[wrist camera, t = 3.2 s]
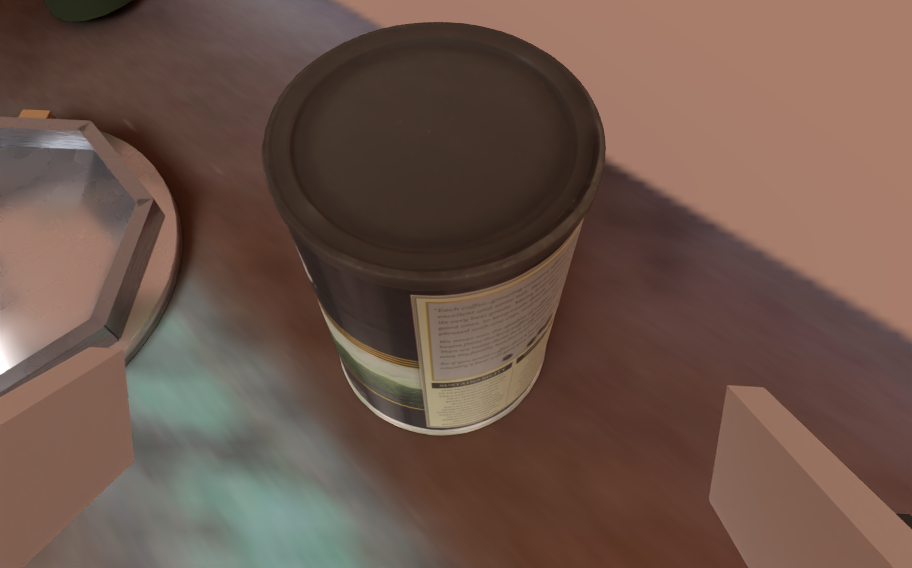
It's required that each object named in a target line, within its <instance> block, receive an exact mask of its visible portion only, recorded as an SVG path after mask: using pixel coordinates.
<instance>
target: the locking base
mask: <svg viewBox="0 0 912 568" xmlns="http://www.w3.org/2000/svg"><path fill="white" fill-rule="evenodd" d="M182 248H183V237H182V224H181V220H180V216H179V211H178V207H177V205H176V203H175V201H174V198H173V196H172V194H171V192H170V190H169V188H168V187H167V185H166V183H165V182H164V180H163V179H162V177H161V176H160V174H159V173H158V171H157V170H156V169H155V167H154V166H153V165H152V164H151V163H150V162H149V161H148V160H147V158H146V157H145V156H144V155H143V154H142V153H140V152H139V151H138V150H136V149H135V148H133V147H132V146H131V145H129V144H128V143H126V142H124V141H122V140H120V139H118V138H116V137H114V136H112V135H110V134H108V133H105V132H102V131H99V130H98V129H97V127H96V126H95V125H94V124H93V123H92V121H89V120H66V119H56V118H55V116H54V115H53V114H52V112H51V111H45V110H22V112H21V113H20V115H19V117H0V397H1V396H3V395H5V394H7V393H8V392H10V391H12V390H14V389H16V388H17V387H19V386H21V385H23V384H25V383H26V382H28V381H30V380H32V379H33V378H35V377H37V376H39V375H41V374H42V373H44V372H46V371H48V370H50V369H51V368H53V367H55V366H57V365H58V364H60V363H62V362H64V361H66V360H67V359H69V358H71V357H73V356H74V355H76V354H78V353H80V352H82V351H83V350H85V349H87V348H89V347H98V348H115V349H124V359H125V366H126V365H127V364H128V363H129V362H130V360H131V359H132V358H133V357H134V356H135V355H136V354H137V353H138V351H139V350H140V349H141V347H142V346H143V344H144V343H145V342H146V340H147V339H148V338H149V336H150V335H151V333H152V332H153V331H154V329H155V327H156V325H157V324H158V322H159V320H160V318H161V316H162V315H163V313H164V311H165V309H166V307H167V305H168V303H169V300H170V298H171V295H172V293H173V290H174V288H175V285H176V281H177V277H178V274H179V270H180V266H181V258H182Z"/></svg>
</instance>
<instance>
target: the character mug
mask: <svg viewBox="0 0 912 568" xmlns="http://www.w3.org/2000/svg"><path fill="white" fill-rule="evenodd" d="M130 1H132V0H44V2H45V4H46V6H47V8H48V10H49V12H50V14H52V15H54V16H55V17H57V18H59V19H61V20H63V21H87V20H90V19H94V18H97V17H101V16H104V15H106V14H108V13H110V12H112V11H114V10H116V9H118V8H120V7H122V6H124V5H126V4H127V3H129V2H130Z"/></svg>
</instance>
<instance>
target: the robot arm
mask: <svg viewBox="0 0 912 568" xmlns="http://www.w3.org/2000/svg"><path fill="white" fill-rule="evenodd" d="M133 462H134V457H133V446H132V435H131V424H130V414H129V403H128V392H127V381H126V370H125V359H124V349H115V348H98V347H89V348H87V349H85V350H83V351H82V352H80V353H78V354H76V355H74V356H73V357H71V358H69V359H67V360H66V361H64V362H62V363H60V364H58V365H57V366H55V367H53V368H51V369H50V370H48V371H46V372H44V373H42V374H41V375H39V376H37V377H35V378H33V379H32V380H30V381H28V382H26V383H25V384H23V385H21V386H19V387H17V388H16V389H14V390H12V391H10V392H8V393H7V394H5V395H3V396H1V397H0V568H23V567H24V566H25V565H26V564H27V563H28V562H29V561H30V560H31V559H32V558H33V557H34V556H35V555H36V554H37V553H38V552H39V551H40V550H41V549H42V548H44V547H45V546H46V545H47V544H48V543H49V542H50V541H51V540H52V539H53V538H54V537H55V536H56V535H57V534H58V533H59V532H60V531H61V530H62V529H63V528H64V527H66V526H67V525H68V524H69V523H70V522H71V521H72V520H73V519H74V518H75V517H76V516H77V515H78V514H79V513H80V512H81V511H82V510H83V509H84V508H85V507H87V506H88V505H89V504H90V503H91V502H92V501H93V500H94V499H95V498H96V497H97V496H98V495H99V494H100V493H101V492H102V491H103V490H104V489H105V488H106V487H108V486H109V485H110V484H111V483H112V482H113V481H114V480H115V479H116V478H117V477H118V476H119V475H120V474H121V473H122V472H123V471H124V470H125V469H126V468H127V467H129V466H130V465H131V464H132V463H133ZM709 501H710V503H711V505H712V506H713V508H714V510H715V511H716V513H717V515H718V517H719V518H720V520H721V522H722V523H723V525H724V527H725V528H726V530H727V532H728V534H729V535H730V537H731V539H732V540H733V542H734V544H735V546H736V547H737V549H738V551H739V552H740V554H741V556H742V558H743V559H744V561H745V563H746V564H747V566H748V568H912V516H911V515H909V514H895V513H894V512H893V511H892V510H891V509H890V508H889V507H888V506H887V505H886V504H885V503H884V502H883V501H882V500H881V499H880V498H879V497H877V496H876V495H875V494H874V493H873V492H872V491H871V490H870V489H869V488H868V487H867V486H866V485H865V484H864V483H863V482H862V481H861V480H860V479H859V478H858V477H857V476H856V475H855V474H854V473H852V472H851V471H850V470H849V469H848V468H847V467H846V466H845V465H844V464H843V463H842V462H841V461H840V460H839V459H838V458H837V457H836V456H835V455H834V454H833V453H832V452H831V451H830V450H829V449H827V448H826V447H825V446H824V445H823V444H822V443H821V442H820V441H819V440H818V439H817V438H816V437H815V436H814V435H813V434H812V433H811V432H810V431H809V430H808V429H807V428H806V427H805V426H804V425H802V424H801V423H800V422H799V421H798V420H797V419H796V418H795V417H794V416H793V415H792V414H791V413H790V412H789V411H788V410H787V409H786V408H785V407H784V406H783V405H782V404H781V403H780V402H778V401H777V400H776V399H775V398H774V397H773V396H772V395H771V394H770V393H769V392H768V391H767V390H766V389H765V388H764V387H748V386H732V385H727V390H726V396H725V402H724V408H723V414H722V421H721V427H720V433H719V439H718V445H717V451H716V458H715V464H714V470H713V476H712V482H711V488H710V495H709Z"/></svg>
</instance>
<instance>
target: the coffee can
mask: <svg viewBox="0 0 912 568" xmlns="http://www.w3.org/2000/svg"><path fill="white" fill-rule="evenodd" d="M605 150H606V146H605V136H604V129H603V125H602V122H601V119H600V116H599V113H598V110H597V108H596V106H595V104H594V102H593V100H592V99H591V97H590V95H589V93H588V92H587V90H586V89H585V88H584V86H583V85H582V84H581V82H580V81H579V80H578V79H577V78H576V77H575V76H574V75H573V74H572V73H571V72H570V71H569V70H568V69H567V68H566V67H565V66H564V65H563V64H561V63H560V62H559V61H557V60H556V59H555V58H554V57H552V56H551V55H549V54H548V53H546V52H544V51H543V50H541V49H539V48H537V47H536V46H534V45H532V44H530V43H528V42H526V41H524V40H522V39H520V38H517V37H515V36H513V35H510V34H507V33H504V32H501V31H497V30H494V29H490V28H485V27H481V26H476V25H470V24H463V23H448V22H445V23H444V22H433V23H432V22H428V23H414V24H405V25H397V26H392V27H388V28H383V29H379V30H376V31H372V32H369V33H367V34H364V35H361V36H359V37H357V38H354V39H352V40H349V41H347V42H344V43H342V44H341V45H339V46H337V47H335V48H333V49H332V50H330V51H328V52H327V53H325V54H323V55H322V56H320V57H319V58H318V59H316V60H315V61H313V62H312V63H311V64H309V65H308V66H307V67H305V68H304V69H303V70H302V71H301V72H300V73H299V74H298V75H297V76H296V77H295V78H294V79H293V80H292V82H291V83H290V84H289V85H288V86H287V87H286V89H285V90H284V91H283V93H282V94H281V96H280V97H279V99H278V101H277V103H276V104H275V106H274V108H273V110H272V113H271V115H270V118H269V121H268V124H267V126H266V129H265V135H264V140H263V145H262V161H263V170H264V176H265V180H266V183H267V186H268V189H269V192H270V194H271V196H272V199H273V201H274V203H275V205H276V207H277V209H278V211H279V213H280V215H281V217H282V218H283V220H284V221H285V223H286V224H287V226H288V228H289V231H290V233H291V235H292V238H293V240H294V242H295V245H296V247H297V250H298V252H299V255H300V258H301V260H302V263H303V265H304V268H305V270H306V273H307V275H308V278H309V280H310V283H311V285H312V287H313V290H314V292H315V295H316V297H317V300H318V302H319V305H320V307H321V310H322V313H323V315H324V318H325V320H326V322H327V325H328V327H329V330H330V333H331V336H332V338H333V341H334V343H335V345H336V348H337V351H338V353H339V356H340V360H341V365H342V368H343V371H344V374H345V376H346V378H347V380H348V382H349V384H350V386H351V387H352V389H353V391H354V392H355V394H356V395H357V396H358V397H359V399H360V400H361V401H362V402H363V403H364V404H365V405H366V406H367V407H368V408H369V409H370V410H371V411H373V412H374V413H375V414H376V415H378V416H379V417H381V418H383V419H384V420H386V421H388V422H390V423H391V424H393V425H396V426H398V427H401V428H404V429H406V430H409V431H413V432H417V433H422V434H428V435H452V434H461V433H465V432H470V431H473V430H476V429H479V428H482V427H484V426H487V425H489V424H491V423H493V422H495V421H497V420H498V419H500V418H502V417H503V416H505V415H506V414H508V413H509V412H511V411H512V410H513V409H514V408H515V407H516V406H517V405H518V404H519V403H520V402H521V401H522V400H523V398H524V397H525V396H526V395H527V394H528V393H529V391H530V390H531V388H532V386H533V385H534V383H535V381H536V379H537V378H538V376H539V373H540V370H541V368H542V365H543V361H544V357H545V351H546V344H547V341H548V338H549V334H550V331H551V328H552V324H553V321H554V317H555V314H556V311H557V308H558V305H559V301H560V297H561V294H562V291H563V287H564V284H565V280H566V277H567V274H568V270H569V267H570V263H571V260H572V257H573V253H574V250H575V247H576V244H577V240H578V237H579V234H580V230H581V227H582V224H583V221H584V217H585V215H586V213H587V212H588V210H589V208H590V206H591V204H592V202H593V199H594V197H595V194H596V192H597V189H598V187H599V184H600V180H601V177H602V173H603V168H604V162H605Z"/></svg>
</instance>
